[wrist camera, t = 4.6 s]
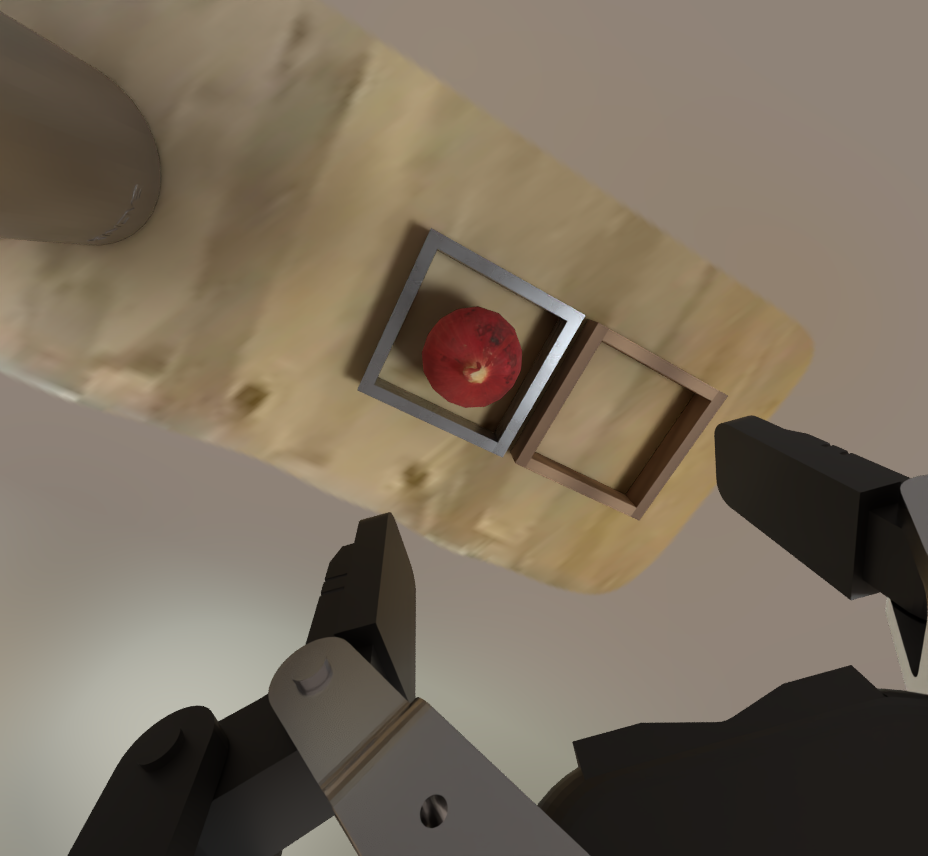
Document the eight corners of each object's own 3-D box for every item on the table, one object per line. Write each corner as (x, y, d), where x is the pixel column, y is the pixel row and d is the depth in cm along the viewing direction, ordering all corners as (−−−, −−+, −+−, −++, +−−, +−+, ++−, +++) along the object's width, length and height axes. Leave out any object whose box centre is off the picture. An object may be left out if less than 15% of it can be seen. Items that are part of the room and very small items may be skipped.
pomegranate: (464, 283, 28) (476, 288, 21) (528, 343, 30) (560, 368, 23) (406, 352, 30) (397, 379, 22) (470, 406, 31) (482, 449, 24)
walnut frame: (510, 452, 33) (515, 463, 31) (588, 319, 30) (598, 322, 28) (627, 507, 35) (639, 520, 33) (710, 388, 32) (728, 395, 30)
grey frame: (361, 382, 30) (357, 390, 28) (431, 231, 27) (430, 228, 25) (498, 446, 32) (502, 457, 30) (575, 312, 30) (585, 315, 28)
